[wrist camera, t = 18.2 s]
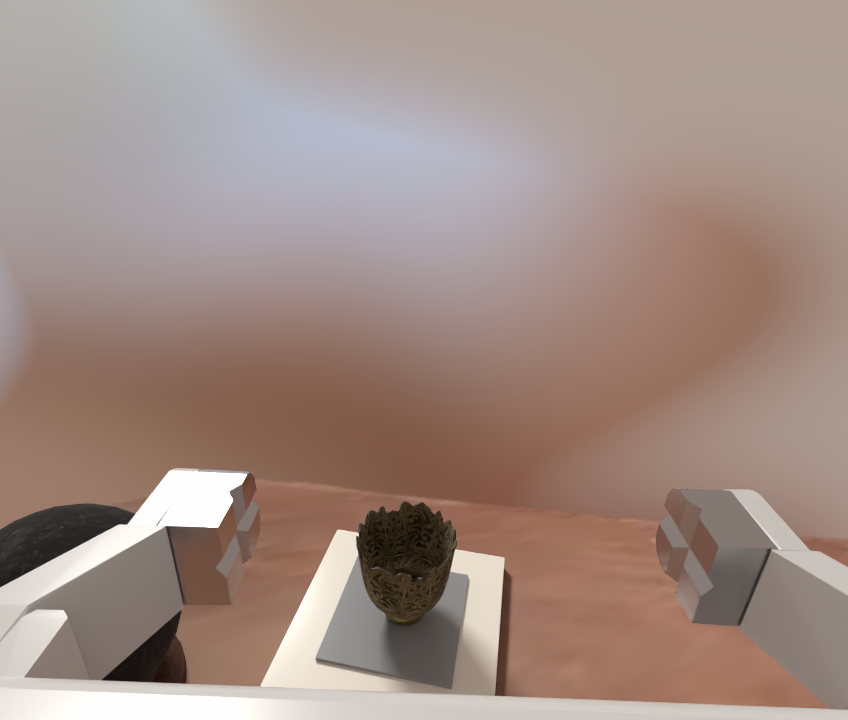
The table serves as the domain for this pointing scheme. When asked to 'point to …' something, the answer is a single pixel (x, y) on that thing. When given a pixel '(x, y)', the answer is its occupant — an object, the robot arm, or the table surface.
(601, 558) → the table surface
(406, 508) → the cup
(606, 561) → the table surface
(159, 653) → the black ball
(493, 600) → the tile plinth
